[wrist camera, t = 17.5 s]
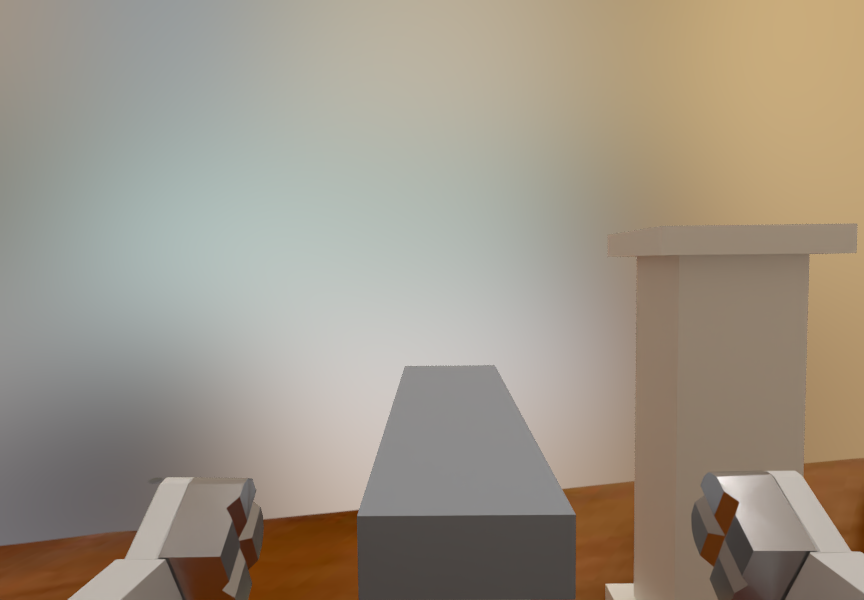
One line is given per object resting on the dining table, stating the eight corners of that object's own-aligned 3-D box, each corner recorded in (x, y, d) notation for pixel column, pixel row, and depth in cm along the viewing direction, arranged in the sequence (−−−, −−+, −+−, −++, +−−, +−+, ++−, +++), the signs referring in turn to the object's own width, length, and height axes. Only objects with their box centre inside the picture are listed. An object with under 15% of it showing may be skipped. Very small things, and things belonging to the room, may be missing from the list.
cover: (359, 600, 14) (357, 516, 14) (405, 401, 34) (404, 366, 34) (575, 599, 14) (575, 514, 14) (494, 400, 34) (494, 365, 34)
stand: (656, 708, 33) (662, 226, 31) (605, 604, 43) (607, 234, 41) (841, 707, 33) (857, 223, 31) (747, 603, 43) (755, 232, 41)
